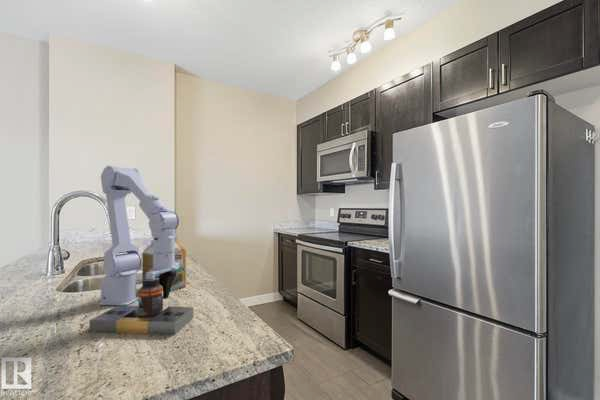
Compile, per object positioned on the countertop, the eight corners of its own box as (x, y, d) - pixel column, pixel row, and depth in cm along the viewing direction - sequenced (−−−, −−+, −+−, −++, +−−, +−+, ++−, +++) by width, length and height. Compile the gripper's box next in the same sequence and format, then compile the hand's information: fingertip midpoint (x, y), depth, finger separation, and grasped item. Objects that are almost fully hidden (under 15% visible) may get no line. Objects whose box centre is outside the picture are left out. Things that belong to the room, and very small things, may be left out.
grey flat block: (89, 332, 70) (89, 319, 70) (117, 316, 80) (117, 305, 80) (175, 334, 69) (175, 321, 69) (193, 318, 79) (193, 306, 79)
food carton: (168, 283, 114) (168, 236, 114) (185, 287, 108) (185, 237, 109) (142, 290, 104) (142, 239, 105) (159, 295, 99) (160, 240, 99)
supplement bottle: (167, 316, 80) (167, 276, 80) (155, 325, 74) (155, 281, 75) (147, 315, 81) (147, 275, 81) (133, 324, 75) (133, 281, 75)
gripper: (163, 256, 77) (163, 307, 77) (188, 248, 91) (188, 290, 91) (138, 256, 77) (138, 306, 77) (167, 248, 92) (167, 290, 92)
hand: (163, 298), depth 84 cm, fingers closed
